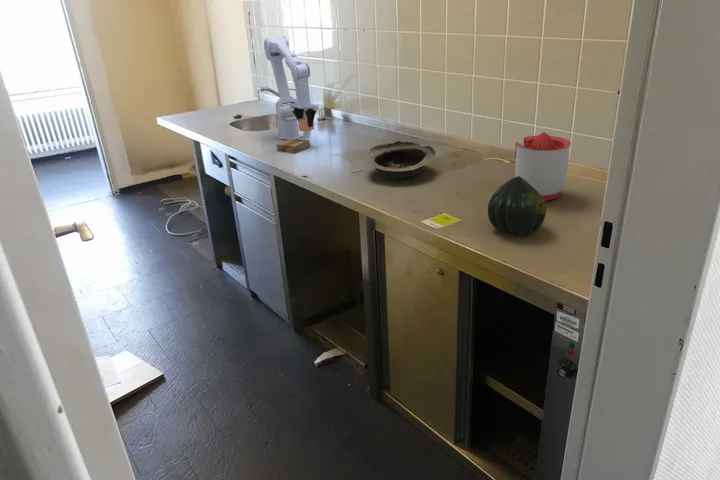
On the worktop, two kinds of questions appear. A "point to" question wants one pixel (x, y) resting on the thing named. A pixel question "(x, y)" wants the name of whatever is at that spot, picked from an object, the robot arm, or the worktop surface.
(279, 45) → the robot arm
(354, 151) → the worktop surface
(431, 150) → the stone bowl
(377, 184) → the worktop surface
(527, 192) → the squash
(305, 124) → the terracotta cube
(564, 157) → the citrus juicer
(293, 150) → the walnut block
